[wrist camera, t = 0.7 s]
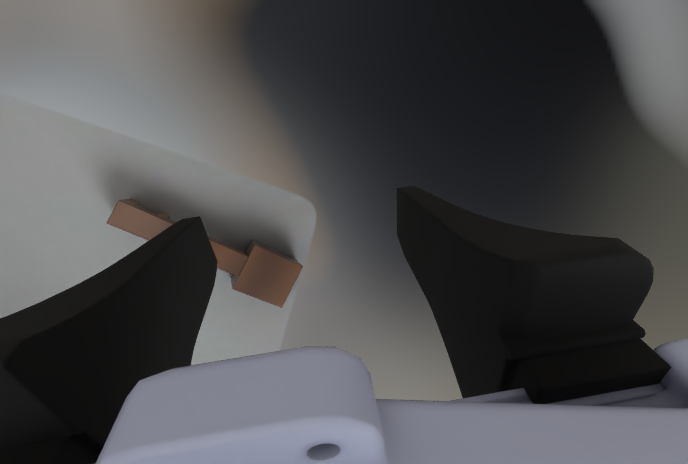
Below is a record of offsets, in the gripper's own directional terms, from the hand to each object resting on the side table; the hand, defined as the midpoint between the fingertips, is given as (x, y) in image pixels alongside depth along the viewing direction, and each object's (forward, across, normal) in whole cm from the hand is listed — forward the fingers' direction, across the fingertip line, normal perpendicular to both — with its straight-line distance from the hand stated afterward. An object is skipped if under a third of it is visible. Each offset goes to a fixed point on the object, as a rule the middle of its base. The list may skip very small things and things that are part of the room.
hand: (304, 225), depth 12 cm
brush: (+16, +11, +10) cm, 21 cm away
